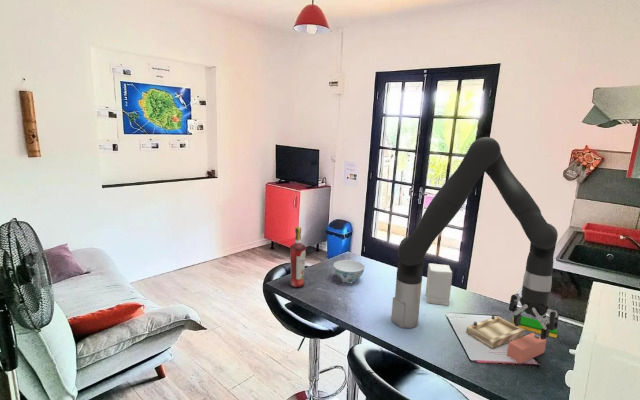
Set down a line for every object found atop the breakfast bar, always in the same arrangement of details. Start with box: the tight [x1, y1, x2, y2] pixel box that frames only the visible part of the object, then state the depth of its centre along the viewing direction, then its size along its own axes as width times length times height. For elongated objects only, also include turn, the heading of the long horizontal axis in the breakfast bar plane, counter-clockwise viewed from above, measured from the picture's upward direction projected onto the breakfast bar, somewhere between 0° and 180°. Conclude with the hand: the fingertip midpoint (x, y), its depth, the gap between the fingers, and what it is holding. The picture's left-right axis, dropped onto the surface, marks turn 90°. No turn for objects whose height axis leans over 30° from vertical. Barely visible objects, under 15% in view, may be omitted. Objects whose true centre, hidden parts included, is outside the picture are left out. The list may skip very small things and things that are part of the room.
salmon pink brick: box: [506, 332, 547, 365], centre depth 112 cm, size 13×4×6 cm, turn 117°
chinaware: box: [333, 259, 365, 284], centre depth 165 cm, size 15×15×8 cm
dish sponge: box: [512, 315, 558, 339], centre depth 128 cm, size 7×14×2 cm, turn 60°
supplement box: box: [425, 263, 453, 306], centre depth 147 cm, size 9×9×15 cm
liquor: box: [289, 226, 307, 288], centre depth 156 cm, size 7×7×28 cm
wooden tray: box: [465, 315, 525, 349], centre depth 123 cm, size 18×10×4 cm, turn 118°
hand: (529, 331), depth 111 cm, fingers open, 8 cm apart
